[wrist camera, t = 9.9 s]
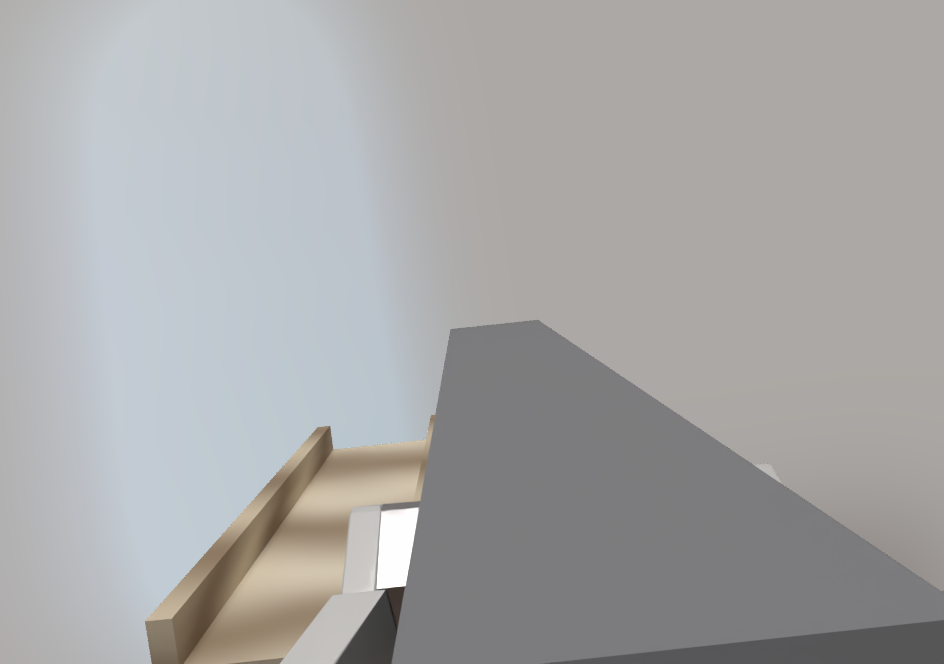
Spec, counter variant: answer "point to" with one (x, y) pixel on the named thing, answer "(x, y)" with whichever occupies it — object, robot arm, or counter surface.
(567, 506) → the dark gray block
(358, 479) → the duct stand
